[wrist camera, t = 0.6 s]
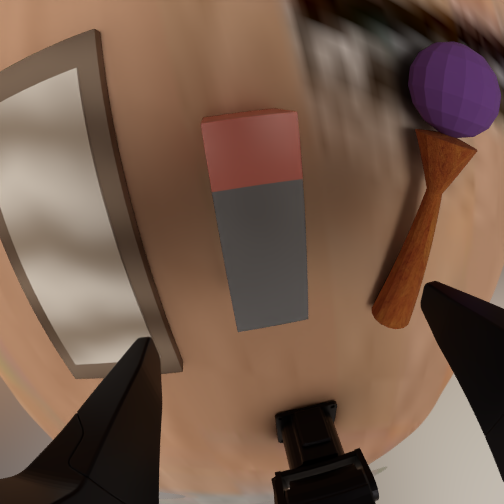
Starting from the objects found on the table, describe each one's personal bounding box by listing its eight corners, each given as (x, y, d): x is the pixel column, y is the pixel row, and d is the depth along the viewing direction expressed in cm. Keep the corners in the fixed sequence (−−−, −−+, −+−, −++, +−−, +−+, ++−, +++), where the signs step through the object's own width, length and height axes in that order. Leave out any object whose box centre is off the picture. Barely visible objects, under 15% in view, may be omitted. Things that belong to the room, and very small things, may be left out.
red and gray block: (290, 277, 21) (308, 318, 17) (231, 287, 21) (237, 332, 17) (275, 108, 16) (297, 111, 12) (202, 117, 16) (200, 123, 12)
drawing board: (183, 362, 24) (182, 373, 23) (78, 370, 23) (75, 380, 22) (100, 31, 12) (92, 28, 11) (-26, 92, 12) (-37, 94, 11)
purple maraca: (363, 341, 20) (441, 23, 10) (349, 288, 25) (398, 33, 15) (433, 341, 20) (523, 65, 9) (411, 292, 25) (470, 60, 14)
